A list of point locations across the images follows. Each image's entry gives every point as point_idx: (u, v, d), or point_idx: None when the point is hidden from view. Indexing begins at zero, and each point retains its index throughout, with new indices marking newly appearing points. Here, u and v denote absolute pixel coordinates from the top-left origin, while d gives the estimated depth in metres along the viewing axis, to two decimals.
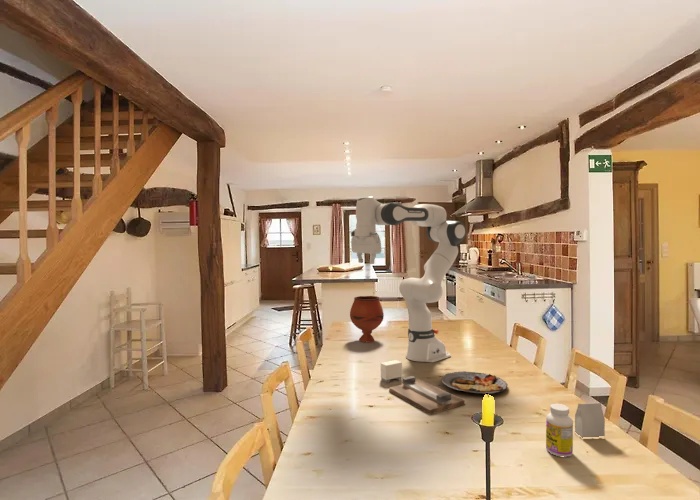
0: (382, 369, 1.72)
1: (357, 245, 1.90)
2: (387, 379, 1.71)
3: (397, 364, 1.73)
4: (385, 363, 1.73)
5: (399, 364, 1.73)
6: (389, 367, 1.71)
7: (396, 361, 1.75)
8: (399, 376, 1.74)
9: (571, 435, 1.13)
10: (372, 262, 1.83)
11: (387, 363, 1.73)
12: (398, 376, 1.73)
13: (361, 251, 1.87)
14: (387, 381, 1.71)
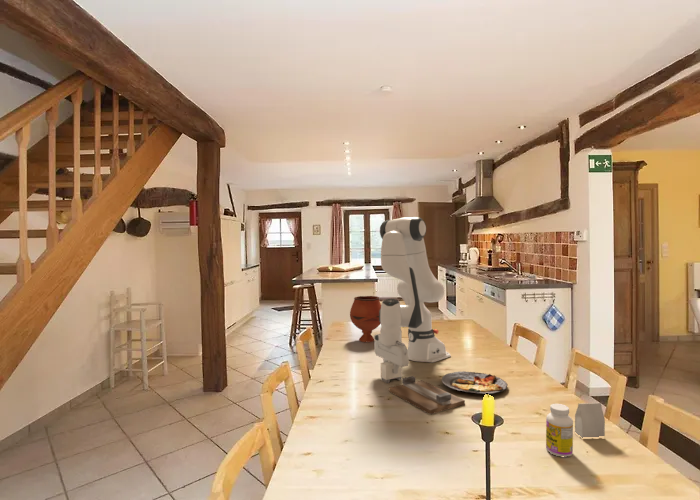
0: (382, 369, 1.72)
1: (382, 350, 1.76)
2: (387, 379, 1.71)
3: None
4: (385, 363, 1.73)
5: None
6: (389, 367, 1.71)
7: None
8: (399, 376, 1.74)
9: (571, 435, 1.13)
10: (395, 372, 1.71)
11: (387, 363, 1.73)
12: (398, 376, 1.73)
13: (386, 358, 1.74)
14: (387, 381, 1.71)
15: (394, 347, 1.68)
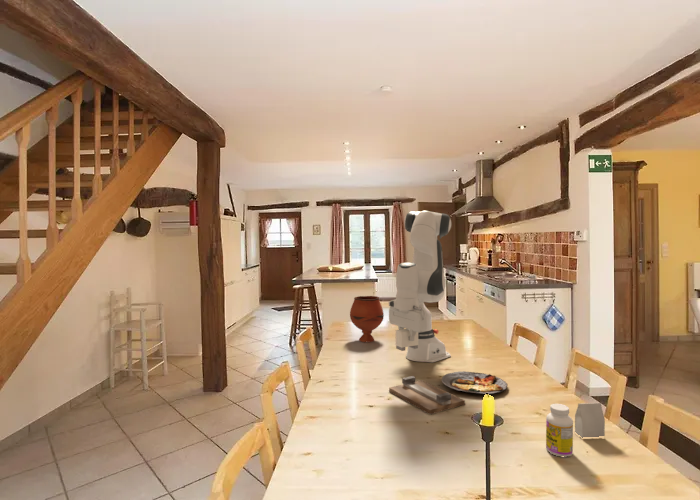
0: (397, 336, 1.62)
1: (397, 317, 1.66)
2: (403, 347, 1.60)
3: None
4: (400, 330, 1.62)
5: None
6: (405, 334, 1.60)
7: None
8: (415, 344, 1.63)
9: (571, 435, 1.13)
10: (412, 339, 1.60)
11: (403, 330, 1.62)
12: (414, 344, 1.62)
13: (401, 325, 1.63)
14: (403, 349, 1.60)
15: (411, 312, 1.58)
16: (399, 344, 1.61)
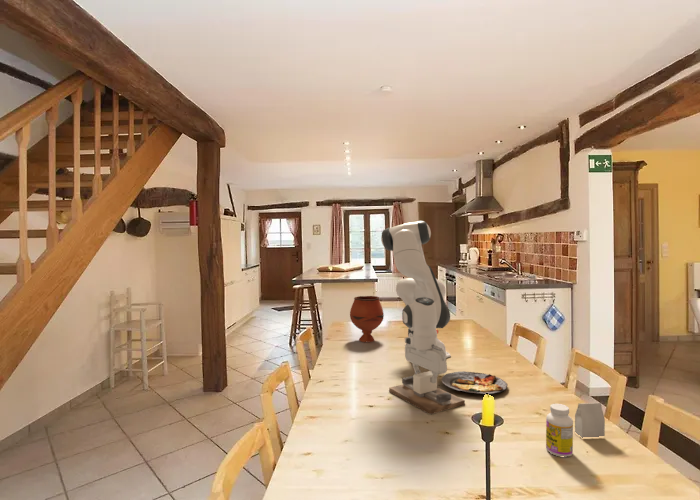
0: (415, 382, 1.53)
1: (414, 355, 1.57)
2: (421, 393, 1.51)
3: None
4: (418, 375, 1.54)
5: None
6: (423, 379, 1.52)
7: (430, 372, 1.56)
8: (434, 389, 1.54)
9: (571, 435, 1.13)
10: (434, 381, 1.50)
11: (421, 375, 1.54)
12: (433, 389, 1.54)
13: (419, 364, 1.54)
14: (421, 395, 1.51)
15: (430, 352, 1.49)
16: (417, 390, 1.52)
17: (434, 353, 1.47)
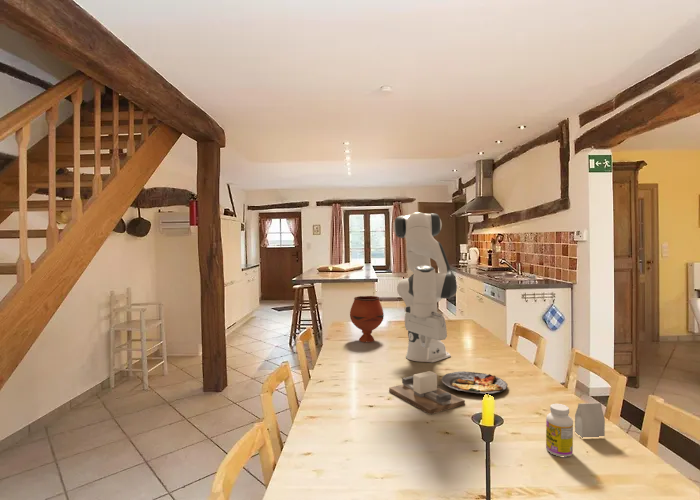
0: (415, 382, 1.53)
1: (414, 324, 1.56)
2: (421, 393, 1.51)
3: (432, 376, 1.54)
4: (418, 375, 1.54)
5: (434, 376, 1.54)
6: (423, 379, 1.52)
7: (430, 372, 1.56)
8: (434, 389, 1.54)
9: (571, 435, 1.13)
10: (427, 346, 1.53)
11: (421, 375, 1.54)
12: (433, 389, 1.54)
13: (419, 332, 1.54)
14: (421, 395, 1.51)
15: (430, 319, 1.48)
16: (417, 390, 1.52)
17: (434, 319, 1.46)
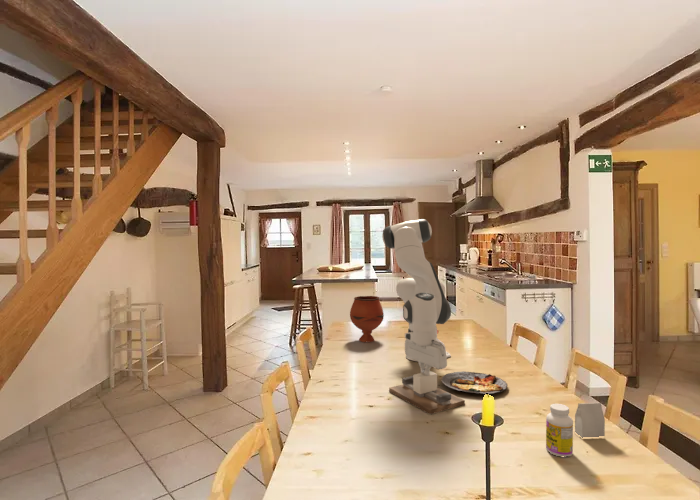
0: (415, 382, 1.53)
1: (414, 351, 1.57)
2: (421, 393, 1.51)
3: (432, 376, 1.54)
4: (419, 375, 1.53)
5: (434, 376, 1.54)
6: (423, 379, 1.52)
7: (430, 372, 1.56)
8: (434, 389, 1.54)
9: (571, 435, 1.13)
10: (427, 373, 1.53)
11: (421, 375, 1.53)
12: (433, 389, 1.54)
13: (419, 359, 1.54)
14: (421, 395, 1.51)
15: (430, 347, 1.49)
16: (417, 390, 1.52)
17: (434, 348, 1.47)
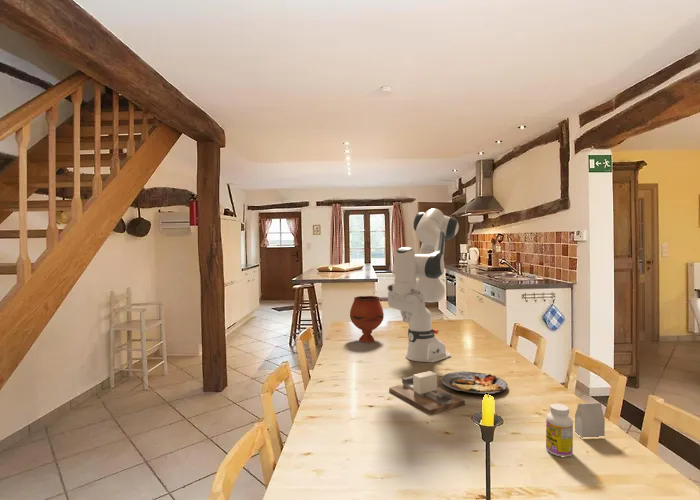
0: (415, 382, 1.53)
1: (396, 301, 1.69)
2: (421, 393, 1.51)
3: (432, 376, 1.54)
4: (418, 375, 1.54)
5: (434, 376, 1.54)
6: (423, 379, 1.52)
7: (430, 372, 1.56)
8: (434, 389, 1.54)
9: (571, 435, 1.13)
10: (408, 321, 1.66)
11: (421, 375, 1.54)
12: (433, 389, 1.54)
13: (401, 308, 1.67)
14: (421, 395, 1.51)
15: (410, 295, 1.61)
16: (417, 390, 1.52)
17: (413, 296, 1.59)
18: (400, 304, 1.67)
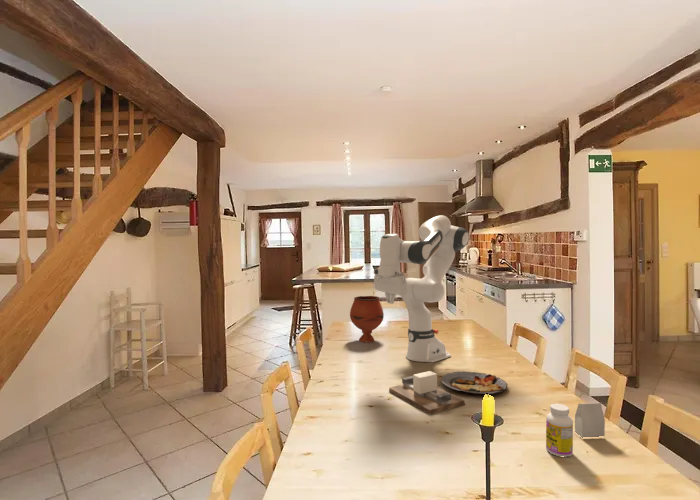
0: (415, 382, 1.53)
1: (381, 284, 1.82)
2: (421, 393, 1.51)
3: (432, 376, 1.54)
4: (418, 375, 1.54)
5: (434, 376, 1.54)
6: (423, 379, 1.52)
7: (430, 372, 1.56)
8: (434, 389, 1.54)
9: (571, 435, 1.13)
10: (392, 302, 1.79)
11: (421, 375, 1.54)
12: (433, 389, 1.54)
13: (385, 290, 1.80)
14: (421, 395, 1.51)
15: (393, 277, 1.74)
16: (417, 390, 1.52)
17: (396, 278, 1.72)
18: (384, 286, 1.80)
